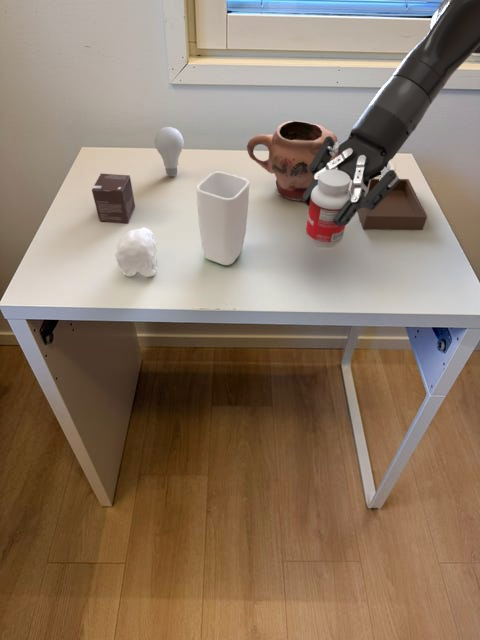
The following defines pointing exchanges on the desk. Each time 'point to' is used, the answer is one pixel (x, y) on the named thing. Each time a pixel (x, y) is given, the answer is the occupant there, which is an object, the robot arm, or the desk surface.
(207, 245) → the cup
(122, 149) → the desk surface
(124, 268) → the white lumpy curved piece
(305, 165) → the pink face mug
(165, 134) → the lightbulb
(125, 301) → the desk surface
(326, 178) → the pill bottle
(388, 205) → the tray
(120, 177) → the box
